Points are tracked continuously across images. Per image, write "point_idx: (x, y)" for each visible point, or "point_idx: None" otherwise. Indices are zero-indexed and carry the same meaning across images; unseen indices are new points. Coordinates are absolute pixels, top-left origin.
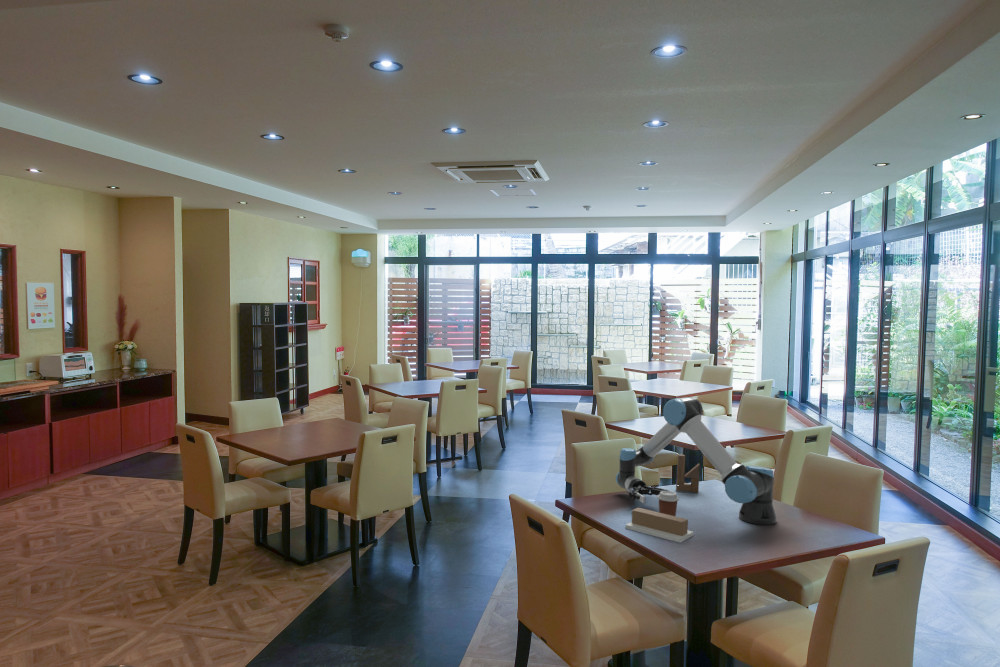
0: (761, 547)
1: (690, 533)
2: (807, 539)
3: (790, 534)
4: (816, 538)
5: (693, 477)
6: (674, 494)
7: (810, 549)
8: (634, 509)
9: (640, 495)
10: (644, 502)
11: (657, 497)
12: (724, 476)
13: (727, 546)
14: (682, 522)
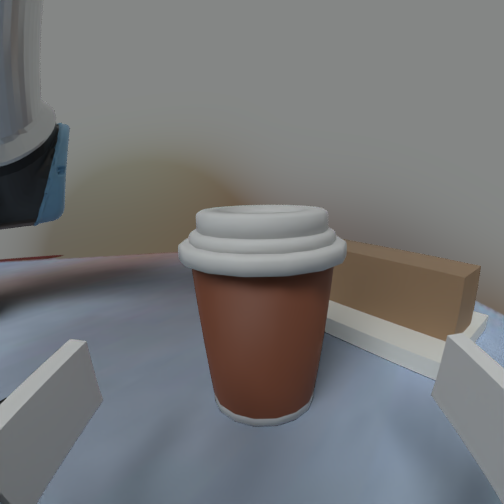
0: (150, 264)
1: None
2: (34, 270)
3: (24, 279)
4: (18, 270)
5: None
6: (238, 206)
7: (84, 258)
8: (474, 268)
9: (500, 370)
10: (433, 391)
11: (345, 253)
12: (53, 126)
13: None
14: None
